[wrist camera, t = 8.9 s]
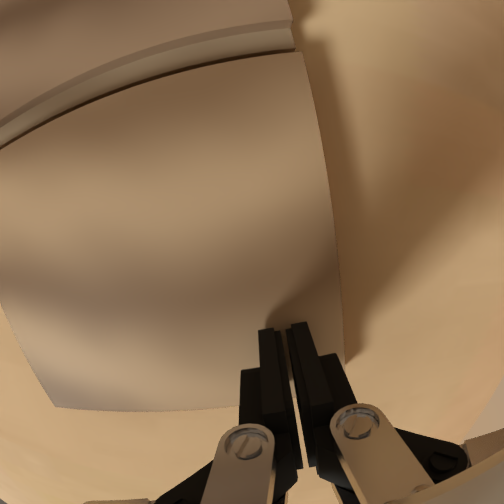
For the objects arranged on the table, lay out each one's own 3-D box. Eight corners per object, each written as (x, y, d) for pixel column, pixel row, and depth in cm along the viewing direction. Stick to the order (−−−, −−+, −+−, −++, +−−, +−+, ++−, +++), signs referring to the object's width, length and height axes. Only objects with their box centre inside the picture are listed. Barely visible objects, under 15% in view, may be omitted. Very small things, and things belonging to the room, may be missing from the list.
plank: (-17, 170, 9) (-34, 173, 8) (296, 62, 9) (301, 51, 7) (64, 393, 13) (55, 406, 11) (338, 368, 12) (345, 386, 11)
